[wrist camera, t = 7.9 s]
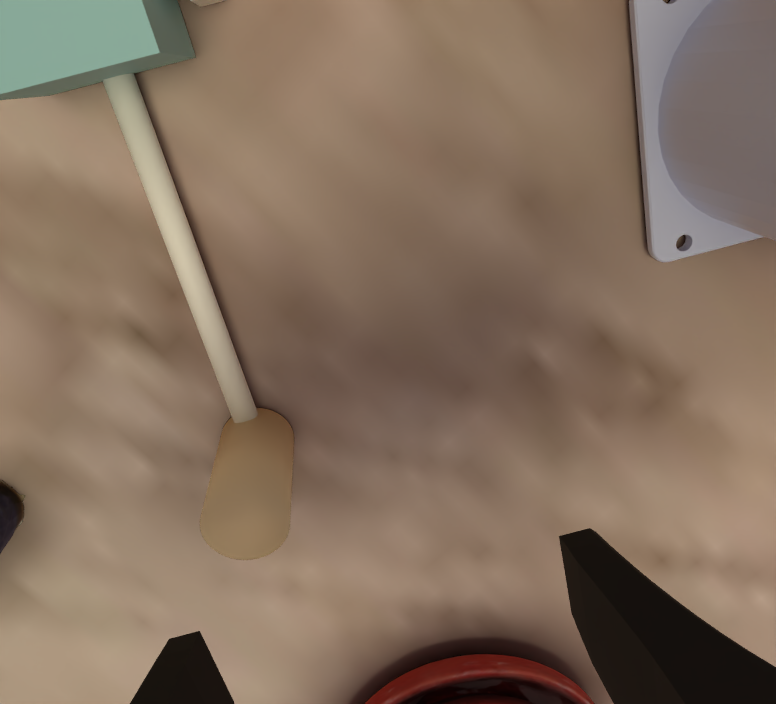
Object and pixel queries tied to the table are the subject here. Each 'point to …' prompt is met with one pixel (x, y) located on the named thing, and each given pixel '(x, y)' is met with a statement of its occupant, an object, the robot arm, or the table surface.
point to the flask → (9, 512)
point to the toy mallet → (116, 70)
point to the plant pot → (481, 683)
